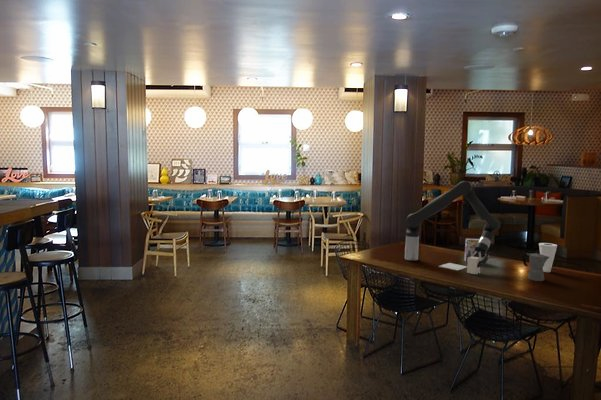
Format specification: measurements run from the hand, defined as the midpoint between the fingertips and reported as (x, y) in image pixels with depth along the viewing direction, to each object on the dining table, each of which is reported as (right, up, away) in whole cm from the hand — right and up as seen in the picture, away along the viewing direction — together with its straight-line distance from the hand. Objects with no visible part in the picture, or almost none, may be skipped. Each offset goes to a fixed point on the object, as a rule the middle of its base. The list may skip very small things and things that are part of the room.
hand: (473, 265), depth 289 cm
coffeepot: (+33, -7, -12) cm, 36 cm away
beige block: (+1, -5, +1) cm, 5 cm away
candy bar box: (+12, -2, +32) cm, 34 cm away
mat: (-7, -3, +16) cm, 18 cm away
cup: (+51, -5, +7) cm, 52 cm away
